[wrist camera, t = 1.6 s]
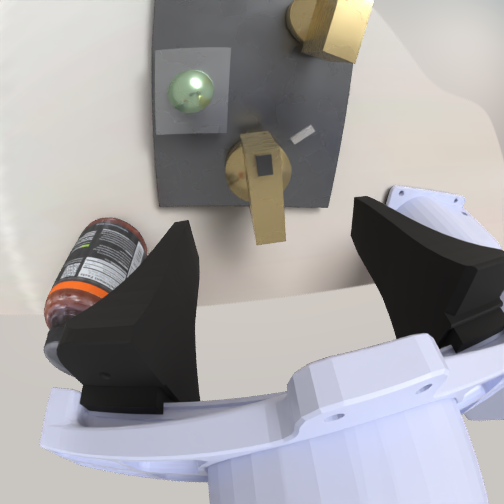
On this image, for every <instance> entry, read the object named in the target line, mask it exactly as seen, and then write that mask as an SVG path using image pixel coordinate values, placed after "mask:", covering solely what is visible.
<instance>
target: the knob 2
mask: <svg viewBox="0 0 504 504" xmlns="http://www.w3.org/2000/svg"><path fill="white" fill-rule="evenodd" d="M373 2H374V0H293V1H292V2H291V4H290V5H289V7H288V10H287V13H286V21H287V25H288V28H289V30H290V32H291V33H292V35H293V36H294V37H295V38H296V39H297V40H298V41H299V42H300V43H302V44H303V49H302V53H305V54H308V55H311V56H314V57H317V58H320V59H323V60H325V61H329V62H343V63H354V64H355V62H356V59H357V56H358V53H359V49H360V46H361V43H362V39H363V36H364V33H365V29H366V26H367V23H368V19H369V16H370V12H371V9H372V5H373Z"/></svg>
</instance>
